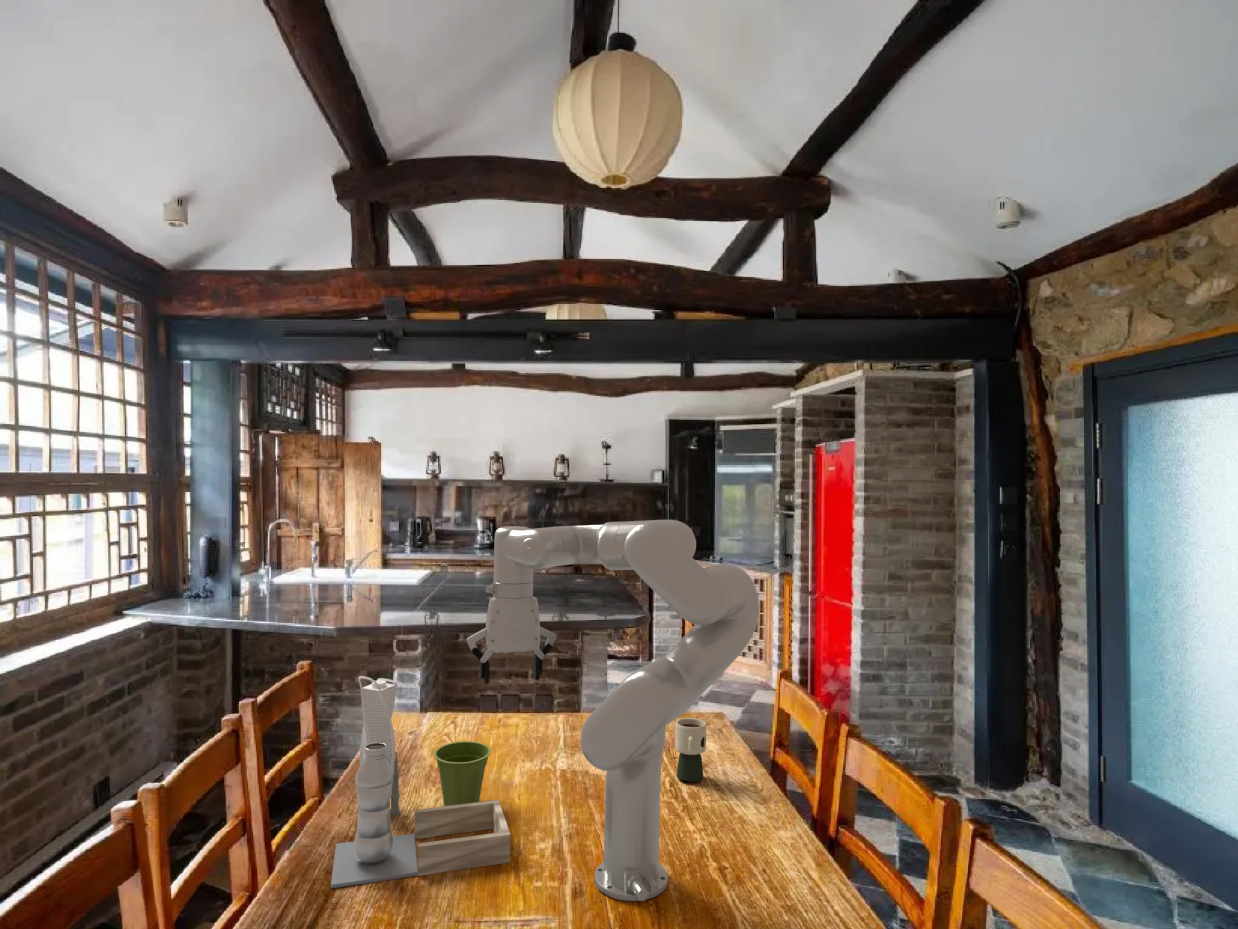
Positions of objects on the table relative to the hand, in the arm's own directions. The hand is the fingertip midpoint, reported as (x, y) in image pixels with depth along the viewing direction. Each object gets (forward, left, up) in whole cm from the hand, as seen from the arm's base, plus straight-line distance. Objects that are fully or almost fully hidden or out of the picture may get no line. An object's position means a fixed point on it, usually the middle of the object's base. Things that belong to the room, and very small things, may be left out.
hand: (511, 680), depth 138 cm
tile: (-1, +24, -30) cm, 39 cm away
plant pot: (+17, +7, -31) cm, 36 cm away
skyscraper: (+20, +24, -31) cm, 44 cm away
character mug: (+16, -45, -31) cm, 57 cm away
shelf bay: (-1, +9, -30) cm, 32 cm away
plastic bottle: (-2, +24, -30) cm, 39 cm away
